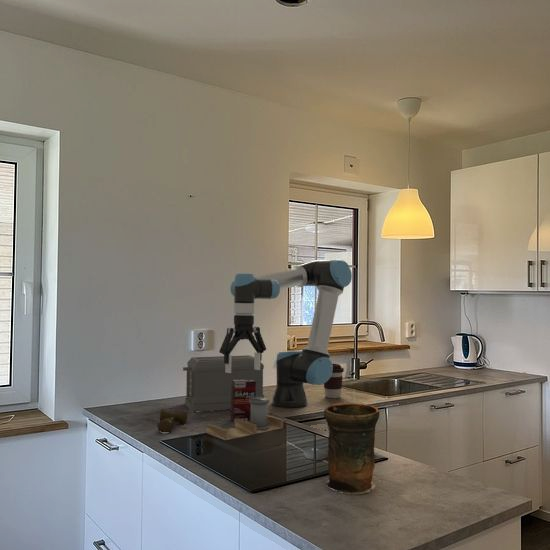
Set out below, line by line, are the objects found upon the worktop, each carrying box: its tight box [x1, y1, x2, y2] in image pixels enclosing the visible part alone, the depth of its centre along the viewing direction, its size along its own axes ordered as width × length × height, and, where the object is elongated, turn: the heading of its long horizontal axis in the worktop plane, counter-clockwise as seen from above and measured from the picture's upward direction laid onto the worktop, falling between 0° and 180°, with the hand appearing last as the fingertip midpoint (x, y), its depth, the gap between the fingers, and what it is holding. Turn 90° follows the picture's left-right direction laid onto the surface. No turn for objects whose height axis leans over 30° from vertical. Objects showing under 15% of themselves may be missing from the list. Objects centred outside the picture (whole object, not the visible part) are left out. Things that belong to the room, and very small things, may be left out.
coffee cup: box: [323, 363, 345, 399], centre depth 260 cm, size 10×10×15 cm
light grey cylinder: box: [249, 397, 270, 430], centre depth 199 cm, size 7×7×10 cm
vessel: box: [323, 402, 380, 496], centre depth 145 cm, size 14×14×20 cm
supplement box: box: [230, 379, 256, 423], centre depth 210 cm, size 9×5×16 cm, turn 105°
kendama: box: [157, 407, 188, 433], centre depth 203 cm, size 6×10×20 cm
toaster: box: [182, 354, 265, 412], centre depth 240 cm, size 19×34×20 cm, turn 108°
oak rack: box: [206, 414, 284, 441], centre depth 195 cm, size 25×11×4 cm, turn 130°
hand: (243, 371), depth 210 cm, fingers open, 13 cm apart
